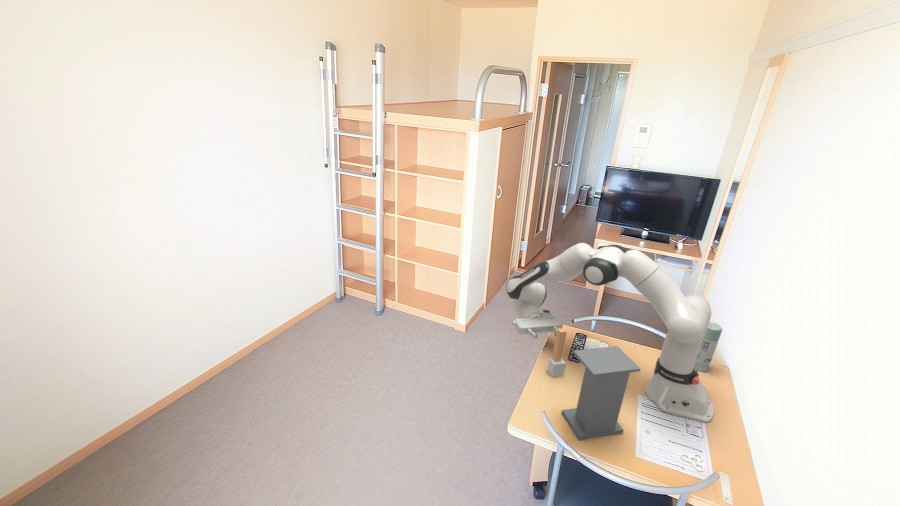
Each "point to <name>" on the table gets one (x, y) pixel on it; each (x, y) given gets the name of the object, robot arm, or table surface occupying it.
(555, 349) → the bar
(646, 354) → the table surface
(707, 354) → the spray paint can
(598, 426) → the stand
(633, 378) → the table surface
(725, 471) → the table surface
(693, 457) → the fidget spinner
